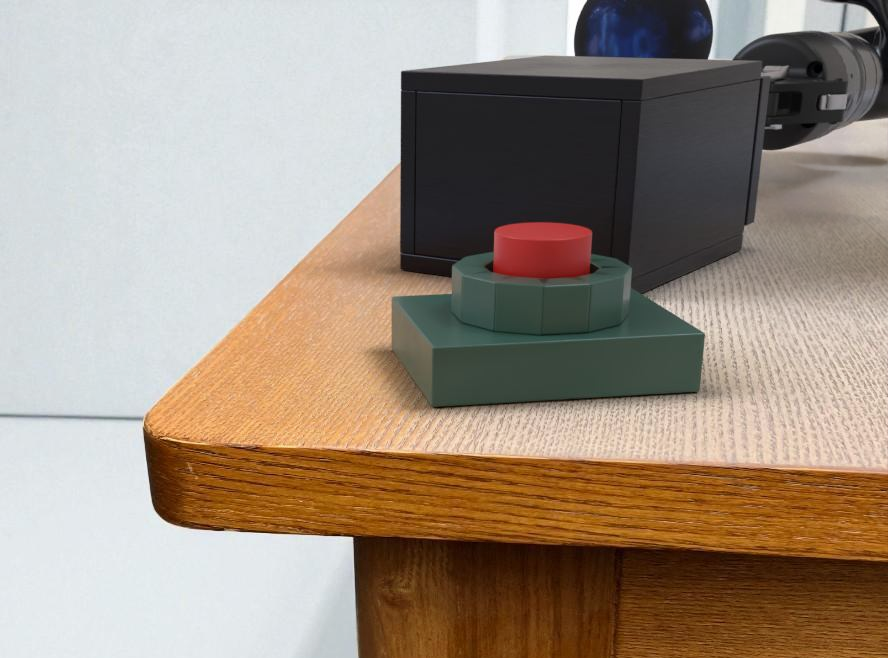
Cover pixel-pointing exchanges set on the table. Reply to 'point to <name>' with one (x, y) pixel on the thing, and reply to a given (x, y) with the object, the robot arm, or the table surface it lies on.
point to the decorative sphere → (644, 29)
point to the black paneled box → (579, 158)
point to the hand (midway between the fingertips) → (697, 108)
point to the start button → (542, 250)
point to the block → (542, 338)
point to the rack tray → (757, 149)
